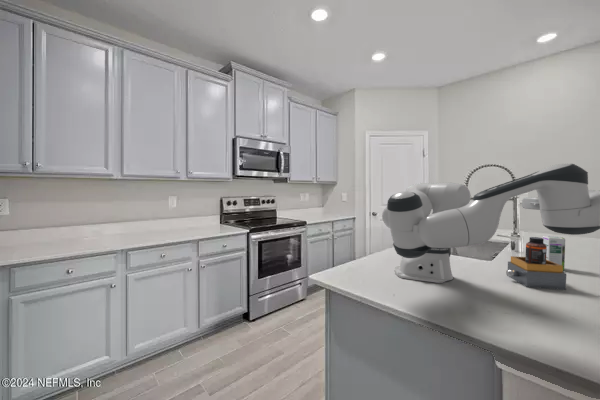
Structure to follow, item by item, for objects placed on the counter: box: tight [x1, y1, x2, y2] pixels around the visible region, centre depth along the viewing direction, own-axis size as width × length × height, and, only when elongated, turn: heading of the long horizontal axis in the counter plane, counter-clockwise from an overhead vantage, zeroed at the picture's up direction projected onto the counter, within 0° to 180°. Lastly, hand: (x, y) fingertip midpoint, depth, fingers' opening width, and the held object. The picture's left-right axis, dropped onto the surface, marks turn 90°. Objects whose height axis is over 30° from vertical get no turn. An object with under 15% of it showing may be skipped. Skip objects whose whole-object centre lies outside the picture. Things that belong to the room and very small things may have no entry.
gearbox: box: [505, 255, 567, 291], centre depth 101 cm, size 15×13×8 cm
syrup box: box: [542, 235, 566, 271], centre depth 118 cm, size 6×6×14 cm
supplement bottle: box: [525, 236, 547, 264], centre depth 100 cm, size 6×6×11 cm
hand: (547, 202), depth 89 cm, fingers open, 8 cm apart
